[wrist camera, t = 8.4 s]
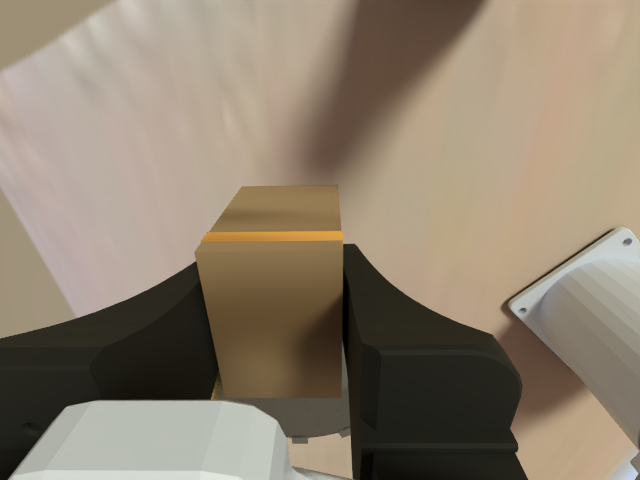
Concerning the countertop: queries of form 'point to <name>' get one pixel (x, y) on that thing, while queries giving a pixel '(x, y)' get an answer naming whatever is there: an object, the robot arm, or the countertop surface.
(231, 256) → the link block
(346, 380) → the sprocket
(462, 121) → the countertop surface
